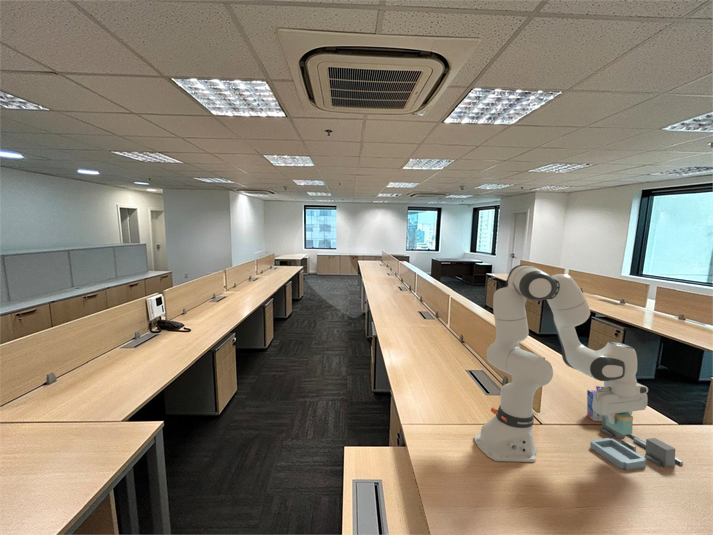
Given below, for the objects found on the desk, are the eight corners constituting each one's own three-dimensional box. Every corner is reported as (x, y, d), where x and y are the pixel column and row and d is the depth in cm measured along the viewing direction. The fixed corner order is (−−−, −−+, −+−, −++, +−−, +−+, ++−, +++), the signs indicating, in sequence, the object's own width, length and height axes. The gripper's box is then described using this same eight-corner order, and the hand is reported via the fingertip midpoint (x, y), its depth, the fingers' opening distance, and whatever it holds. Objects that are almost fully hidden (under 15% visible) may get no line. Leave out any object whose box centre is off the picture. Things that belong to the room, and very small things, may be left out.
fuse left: (616, 438, 114) (617, 423, 114) (601, 429, 120) (602, 414, 120) (624, 437, 115) (625, 422, 115) (609, 428, 121) (609, 414, 120)
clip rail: (655, 469, 98) (656, 465, 98) (593, 430, 119) (593, 427, 119) (682, 464, 100) (682, 460, 100) (616, 427, 121) (616, 424, 121)
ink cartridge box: (610, 417, 129) (611, 386, 129) (618, 424, 124) (619, 392, 123) (585, 414, 132) (586, 384, 131) (592, 420, 126) (593, 389, 126)
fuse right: (665, 467, 98) (666, 450, 98) (645, 455, 104) (646, 439, 104) (674, 466, 99) (675, 448, 99) (654, 454, 105) (654, 437, 105)
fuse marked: (623, 435, 100) (623, 417, 100) (605, 424, 106) (605, 408, 106) (632, 433, 101) (633, 416, 101) (614, 423, 107) (614, 407, 107)
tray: (623, 470, 97) (624, 463, 97) (588, 446, 109) (588, 440, 109) (647, 466, 99) (648, 460, 99) (610, 443, 111) (611, 437, 111)
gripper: (604, 393, 98) (604, 431, 99) (652, 387, 101) (651, 424, 102) (587, 384, 104) (586, 420, 105) (632, 380, 108) (631, 414, 108)
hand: (618, 422), depth 103 cm, fingers closed on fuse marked, 4 cm apart
